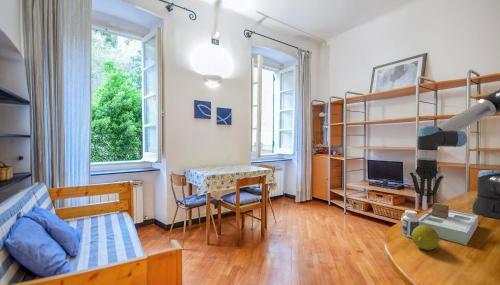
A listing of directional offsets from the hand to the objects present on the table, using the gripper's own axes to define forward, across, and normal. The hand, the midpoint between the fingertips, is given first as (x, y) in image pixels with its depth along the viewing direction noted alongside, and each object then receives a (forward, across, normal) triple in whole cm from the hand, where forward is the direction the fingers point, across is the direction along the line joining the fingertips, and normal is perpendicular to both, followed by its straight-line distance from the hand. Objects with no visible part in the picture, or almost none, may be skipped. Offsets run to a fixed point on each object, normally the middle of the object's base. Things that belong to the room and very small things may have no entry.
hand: (424, 209), depth 114 cm
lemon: (+6, +8, -32) cm, 34 cm away
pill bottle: (+6, +1, -24) cm, 25 cm away
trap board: (+6, +9, -2) cm, 11 cm away
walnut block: (+2, +6, +1) cm, 6 cm away
